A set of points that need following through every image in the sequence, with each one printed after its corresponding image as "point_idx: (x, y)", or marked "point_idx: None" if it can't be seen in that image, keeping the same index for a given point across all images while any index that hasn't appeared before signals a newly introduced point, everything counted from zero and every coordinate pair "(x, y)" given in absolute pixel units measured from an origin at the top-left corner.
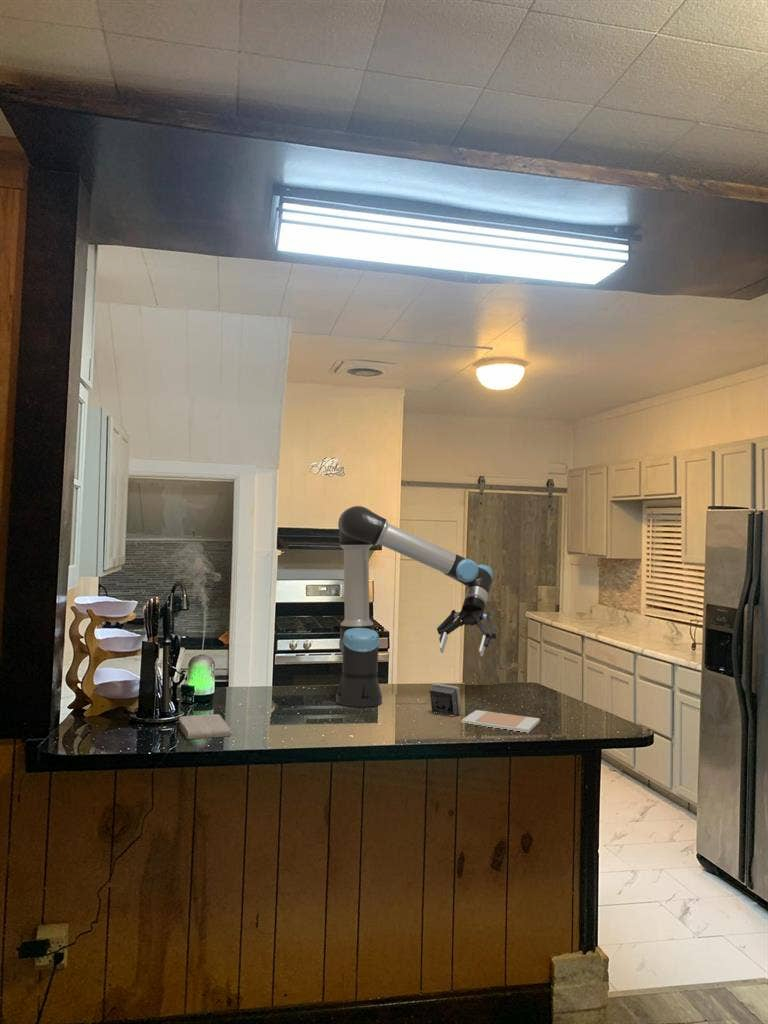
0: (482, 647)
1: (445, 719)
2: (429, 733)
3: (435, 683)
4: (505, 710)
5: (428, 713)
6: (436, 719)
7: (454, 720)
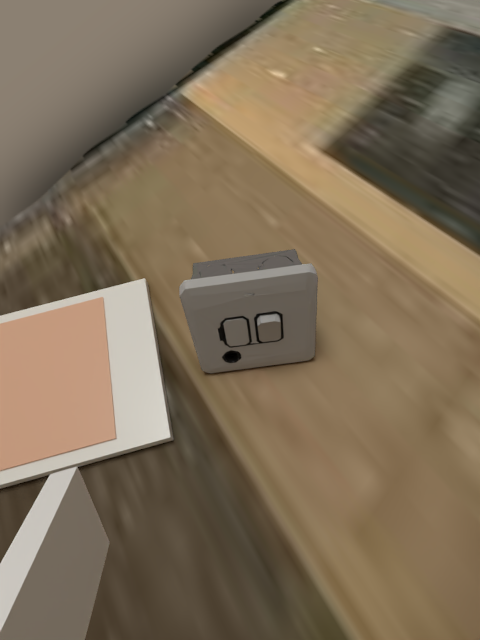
0: (28, 525)
1: None
2: (167, 171)
3: (300, 271)
4: None
5: None
6: None
7: None
